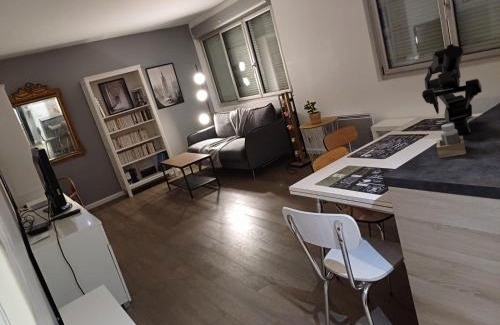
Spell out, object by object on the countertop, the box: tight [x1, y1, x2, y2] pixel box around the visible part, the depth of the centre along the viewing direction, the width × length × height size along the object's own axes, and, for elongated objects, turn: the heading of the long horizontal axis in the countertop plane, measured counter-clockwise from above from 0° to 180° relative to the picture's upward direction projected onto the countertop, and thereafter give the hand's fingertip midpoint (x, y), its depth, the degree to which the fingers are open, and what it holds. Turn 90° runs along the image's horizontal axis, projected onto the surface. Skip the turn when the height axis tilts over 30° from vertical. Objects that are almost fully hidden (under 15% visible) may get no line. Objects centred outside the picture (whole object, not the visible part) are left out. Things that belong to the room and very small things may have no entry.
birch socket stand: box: [436, 135, 467, 159], centre depth 129 cm, size 8×8×4 cm
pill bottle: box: [440, 122, 460, 146], centre depth 129 cm, size 5×5×10 cm
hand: (451, 111), depth 130 cm, fingers open, 9 cm apart
